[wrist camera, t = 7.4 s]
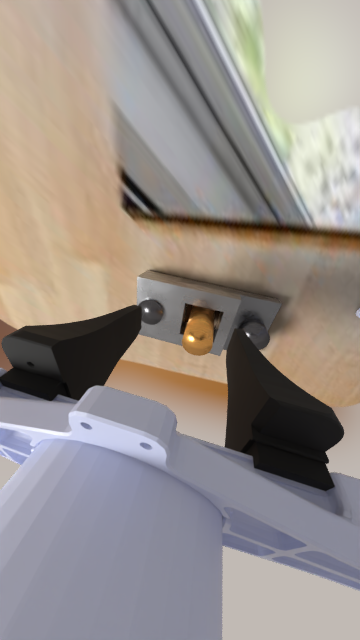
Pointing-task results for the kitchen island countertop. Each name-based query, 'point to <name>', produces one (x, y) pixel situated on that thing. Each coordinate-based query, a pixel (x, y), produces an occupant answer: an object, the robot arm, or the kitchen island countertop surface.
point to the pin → (199, 331)
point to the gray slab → (176, 293)
